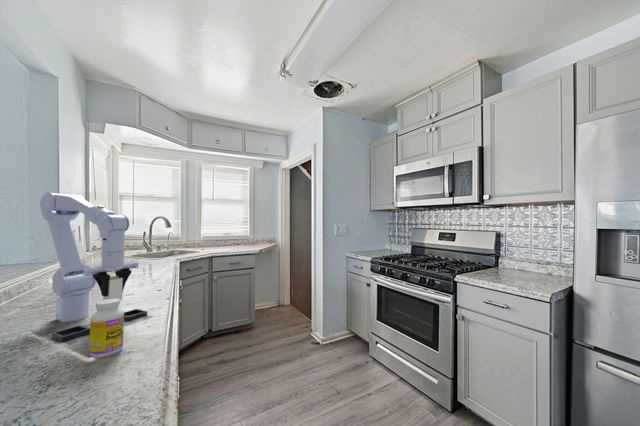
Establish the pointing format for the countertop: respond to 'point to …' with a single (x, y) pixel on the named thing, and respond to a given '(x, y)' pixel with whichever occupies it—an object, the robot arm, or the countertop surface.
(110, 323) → the supplement bottle
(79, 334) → the panel
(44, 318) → the countertop surface
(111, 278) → the white rectangular block
